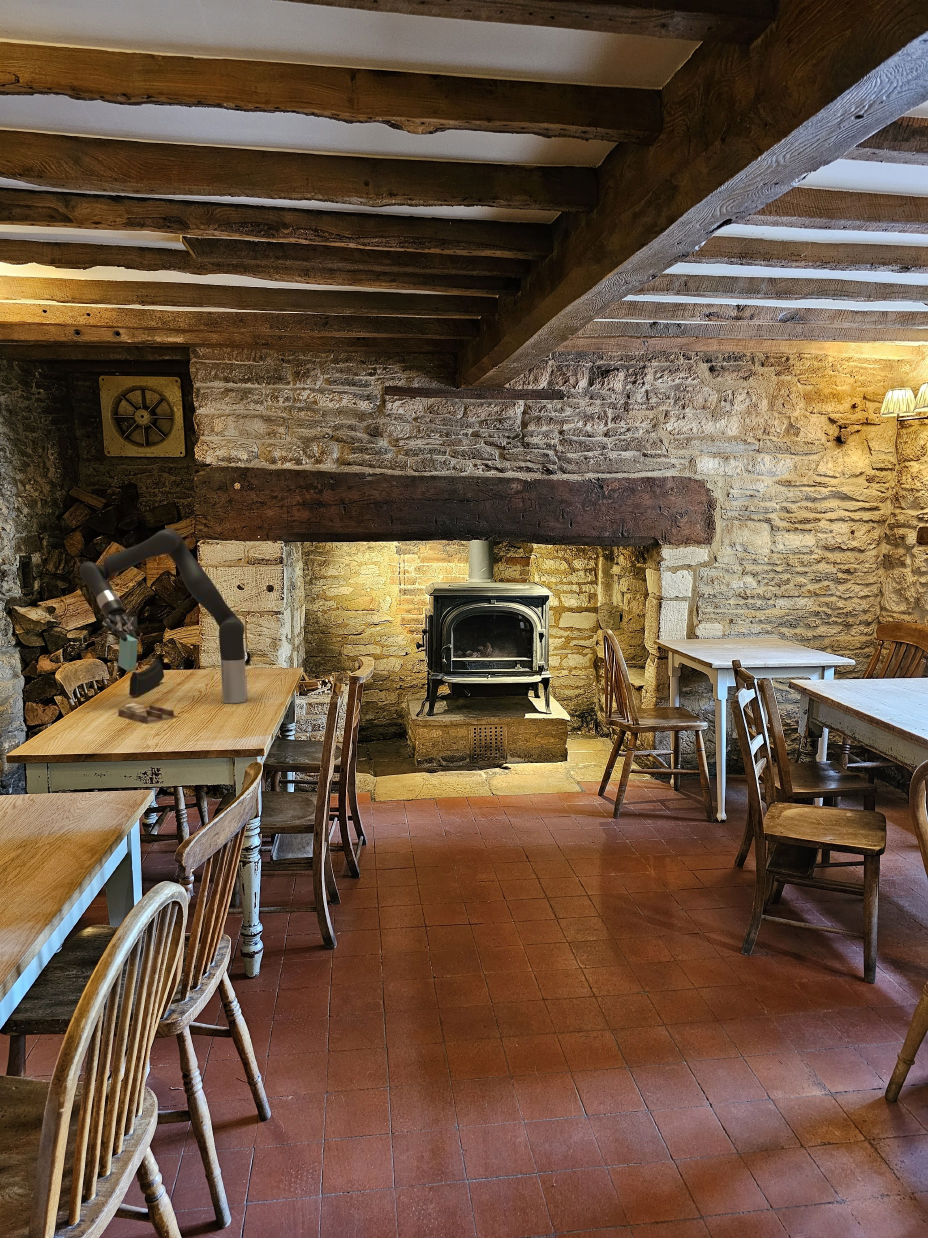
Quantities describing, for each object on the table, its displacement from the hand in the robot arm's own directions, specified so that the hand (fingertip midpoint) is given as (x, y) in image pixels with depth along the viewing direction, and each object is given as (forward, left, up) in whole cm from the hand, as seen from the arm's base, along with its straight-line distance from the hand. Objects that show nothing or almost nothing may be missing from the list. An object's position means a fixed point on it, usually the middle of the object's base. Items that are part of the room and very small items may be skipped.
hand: (130, 639), depth 302 cm
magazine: (+6, -39, -28) cm, 49 cm away
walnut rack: (-9, +12, -28) cm, 32 cm away
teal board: (+2, -2, -11) cm, 12 cm away
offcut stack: (-4, +13, -26) cm, 30 cm away
